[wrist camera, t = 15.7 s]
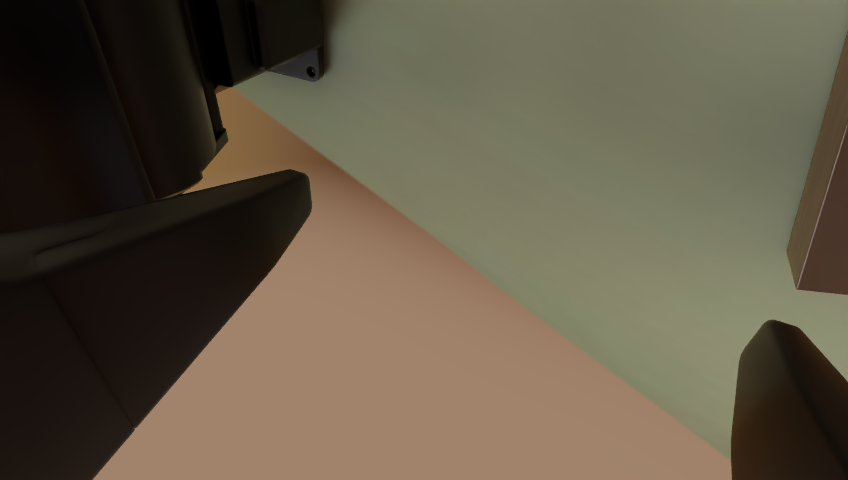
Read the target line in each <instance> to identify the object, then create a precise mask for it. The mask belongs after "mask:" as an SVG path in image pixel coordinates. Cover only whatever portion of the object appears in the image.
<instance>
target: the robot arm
mask: <svg viewBox="0 0 848 480" xmlns="http://www.w3.org/2000/svg"><path fill="white" fill-rule="evenodd" d="M322 44H323V36H322V22H321V8H320V0H0V480H93V478H94V477H95V476H96V475H97V474H98V472H99V471H100V470H101V469H102V468H103V467H104V466H105V464H106V463H107V462H108V461H109V460H110V459H111V457H112V456H113V455H114V454H115V453H116V451H117V450H118V449H119V448H120V447H121V446H122V444H123V443H124V442H125V441H126V440H127V439H128V438H129V436H130V435H131V434H132V433H133V431H134V430H135V429H134V428H136V427H138V425H139V424H140V423H141V422H142V421H143V420H144V418H145V417H146V416H147V415H148V414H149V413H150V411H151V410H152V409H153V408H154V407H155V406H156V404H157V403H158V402H159V401H160V399H162V397H163V396H164V395H165V394H166V393H167V391H168V390H169V389H170V388H171V387H172V386H173V384H174V383H175V382H176V381H177V380H178V379H179V378H180V376H181V375H182V374H183V373H184V371H185V370H186V369H187V368H188V367H189V366H190V365H191V363H192V362H193V361H194V360H195V359H196V358H197V356H198V355H199V354H200V353H201V352H202V350H203V349H204V348H205V347H206V346H207V345H208V343H209V342H210V341H211V340H212V339H213V338H214V336H215V335H216V334H217V333H218V332H219V331H220V330H221V328H222V327H223V326H224V325H225V324H226V322H227V321H228V320H229V319H230V318H231V317H232V316H233V314H234V313H235V312H236V311H237V310H238V309H239V307H240V306H241V305H242V304H243V303H244V301H245V300H246V299H247V298H248V297H249V296H250V294H251V293H252V292H253V291H254V290H255V289H256V287H257V286H258V285H259V284H260V282H262V280H263V279H264V278H265V277H266V276H267V275H268V273H269V272H270V271H271V269H272V268H273V267H274V266H275V265H276V263H277V262H278V260H279V259H280V258H281V256H282V255H283V253H284V252H285V250H286V249H287V247H288V246H289V244H290V243H291V242H292V240H293V239H294V237H295V236H296V234H297V233H298V231H299V230H300V228H301V227H302V226H303V224H304V223H305V221H306V220H307V218H308V217H309V215H310V213H311V209H312V201H311V191H310V182H309V178H308V176H307V175H306V174H305V173H302V172H298V171H295V170H291V169H289V170H284V171H279V172H275V173H271V174H267V175H263V176H258V177H254V178H250V179H245V180H241V181H237V182H233V183H228V184H224V185H220V186H216V187H212V188H207V189H203V190H199V191H195V192H190V193H186V194H183V192H185V191H186V190H188V189H190V188H191V187H193V186H195V185H196V184H198V183H199V181H200V180H201V179H202V178H203V176H202V171H203V170H204V169H205V168H206V167H207V165H208V164H209V163H210V162H211V160H212V159H213V158H214V157H215V156H216V155H217V154H218V152H219V151H220V150H221V149H222V147H223V146H224V145H225V144H226V143H227V142H228V138H227V132H226V129H225V128H223V125H222V121H221V116H220V112H219V107H218V104H217V98H216V93H219V92H221V91H223V90H225V89H227V88H230V87H233V86H235V85H237V84H239V83H242V82H244V81H246V80H248V79H250V78H252V77H255V76H257V75H259V74H261V73H263V72H266V71H271V72H275V73H279V74H283V75H287V76H292V77H296V78H300V79H304V80H308V81H317V80H319V79H321V78H322V77H323V75H324V63H323V49H322ZM311 67H313V68H314V70H315V73H313V71H312V69H311ZM731 465H732V480H848V382H847V381H846V379H845V378H844V377H843V376H842V375H841V374H840V373H839V372H838V370H837V369H836V368H835V367H834V366H833V365H832V364H831V363H830V362H829V360H828V359H827V358H826V357H825V356H824V355H823V354H822V353H821V352H820V350H819V349H818V348H817V347H816V346H815V345H814V344H813V343H812V342H811V340H810V339H809V338H808V337H807V336H806V335H805V334H804V333H803V331H801V330H800V329H799V328H798V327H796V326H793V325H790V324H786V323H783V322H780V321H777V320H768V321H767V322H765V323H764V324H763V325H762V326H761V328H760V329H759V330H758V332H757V333H756V334H755V336H754V337H753V338H752V340H751V341H750V342H749V343H748V345H747V346H746V347H745V349H744V350H743V352H742V354H741V357H740V361H739V368H738V377H737V387H736V396H735V406H734V415H733V425H732V437H731Z"/></svg>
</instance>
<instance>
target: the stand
mask: <svg viewBox="0 0 848 480" xmlns="http://www.w3.org/2000/svg"><path fill="white" fill-rule="evenodd" d="M787 255H788V259H789V263H790V267H791V271H792V275H793V279H794V283H795V287H796V289H798V290H807V291H817V292H826V293H835V294H845V295H848V32H847V36H846V40H845V43H844V47H843V50H842V54H841V58H840V61H839V65H838V68H837V72H836V76H835V79H834V83H833V86H832V90H831V94H830V97H829V101H828V104H827V108H826V112H825V115H824V119H823V122H822V126H821V130H820V133H819V137H818V140H817V144H816V148H815V151H814V155H813V158H812V162H811V166H810V169H809V173H808V177H807V180H806V184H805V187H804V191H803V195H802V198H801V202H800V205H799V209H798V213H797V216H796V220H795V223H794V227H793V231H792V234H791V238H790V241H789V245H788V249H787Z"/></svg>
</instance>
